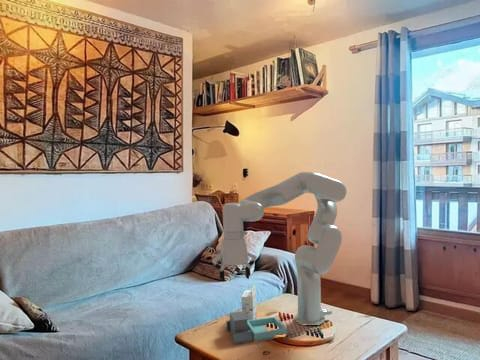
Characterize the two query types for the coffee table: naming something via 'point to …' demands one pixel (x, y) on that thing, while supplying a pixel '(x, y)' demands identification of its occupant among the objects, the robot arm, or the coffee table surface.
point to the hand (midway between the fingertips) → (235, 279)
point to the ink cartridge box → (249, 303)
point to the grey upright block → (237, 322)
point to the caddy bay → (240, 335)
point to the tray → (260, 331)
